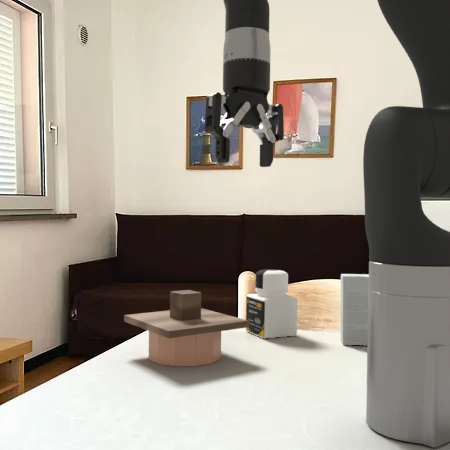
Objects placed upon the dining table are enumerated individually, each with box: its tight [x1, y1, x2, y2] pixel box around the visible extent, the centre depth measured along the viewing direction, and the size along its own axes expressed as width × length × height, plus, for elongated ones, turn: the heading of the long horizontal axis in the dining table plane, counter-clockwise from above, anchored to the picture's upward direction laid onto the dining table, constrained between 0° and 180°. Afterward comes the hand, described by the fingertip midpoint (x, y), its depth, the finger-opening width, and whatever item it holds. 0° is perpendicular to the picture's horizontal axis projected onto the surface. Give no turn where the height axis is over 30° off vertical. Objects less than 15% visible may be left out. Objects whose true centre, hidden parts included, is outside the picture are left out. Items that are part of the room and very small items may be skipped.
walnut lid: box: [123, 289, 249, 338], centre depth 83 cm, size 14×14×5 cm
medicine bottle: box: [245, 268, 298, 340], centre depth 100 cm, size 7×7×12 cm
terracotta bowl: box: [148, 331, 222, 367], centre depth 83 cm, size 11×11×5 cm
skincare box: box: [340, 273, 369, 347], centre depth 93 cm, size 6×4×12 cm
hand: (245, 164), depth 85 cm, fingers open, 8 cm apart
